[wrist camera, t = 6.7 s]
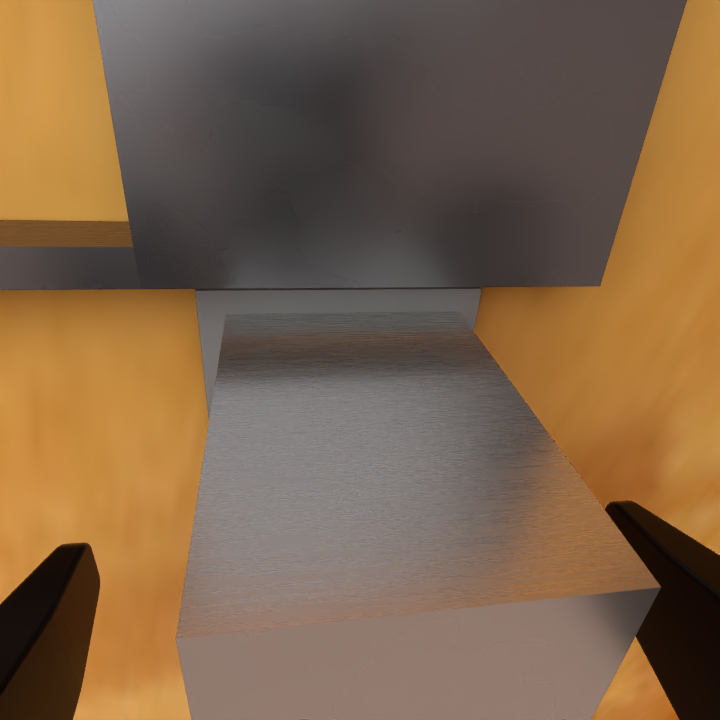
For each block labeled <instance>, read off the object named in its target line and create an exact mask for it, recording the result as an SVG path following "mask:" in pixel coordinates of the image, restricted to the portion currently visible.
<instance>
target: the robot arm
mask: <svg viewBox="0 0 720 720" xmlns="http://www.w3.org/2000/svg"><path fill="white" fill-rule="evenodd" d="M605 511H606V513H607V514H608V515H609V517H610V518H611V519H612V521H613V522H614V523H615V525H616V526H617V528H618V529H619V530H620V532H621V533H622V534H623V536H624V537H625V538H626V540H627V541H628V543H629V544H630V545H631V547H632V548H633V549H634V551H635V552H636V553H637V555H638V556H639V557H640V559H641V560H642V562H643V563H644V564H645V566H646V567H647V568H648V570H649V571H650V572H651V574H652V575H653V577H654V578H655V579H656V581H657V582H658V583H659V585H660V586H661V589H660V590H659V592H658V594H657V596H656V598H655V600H654V602H653V604H652V606H651V607H650V609H649V611H648V613H647V615H646V617H645V619H644V621H643V623H642V624H641V626H640V628H639V630H638V632H637V634H636V638H637V640H638V642H639V644H640V645H641V647H642V649H643V651H644V653H645V655H646V657H647V659H648V661H649V663H650V665H651V666H652V668H653V670H654V672H655V674H656V676H657V678H658V680H659V682H660V684H661V686H662V687H663V689H664V691H665V693H666V695H667V697H668V699H669V701H670V703H671V705H672V707H673V708H674V710H675V712H676V714H677V716H678V718H679V720H720V555H718V554H717V553H715V552H713V551H712V550H710V549H709V548H707V547H705V546H704V545H702V544H701V543H699V542H697V541H696V540H694V539H693V538H691V537H689V536H688V535H686V534H685V533H683V532H681V531H680V530H678V529H677V528H675V527H673V526H672V525H670V524H669V523H667V522H665V521H664V520H662V519H661V518H659V517H657V516H656V515H654V514H653V513H651V512H649V511H648V510H646V509H645V508H643V507H642V506H640V505H638V504H637V503H635V502H633V501H615V502H610V503H609V504H608V505H607V506H606V508H605ZM99 590H100V576H99V572H98V569H97V565H96V562H95V558H94V555H93V552H92V548H91V546H90V545H89V544H88V543H71V544H63V545H60V546H59V547H57V548H56V549H55V550H54V551H53V552H52V553H51V554H50V555H49V556H48V557H47V558H46V559H45V560H44V561H43V562H42V563H41V564H40V565H39V566H38V567H37V568H36V569H35V570H34V571H33V572H32V573H31V574H30V575H29V576H28V577H27V578H26V579H25V580H24V581H23V582H22V583H21V584H20V585H19V586H18V587H17V588H16V589H15V590H14V591H13V592H12V593H11V594H10V595H9V596H8V597H7V598H6V599H5V600H4V601H3V602H2V603H1V604H0V720H73V717H74V714H75V710H76V707H77V703H78V699H79V696H80V692H81V688H82V683H83V678H84V673H85V667H86V662H87V656H88V651H89V645H90V640H91V635H92V629H93V624H94V618H95V613H96V607H97V602H98V596H99Z"/></svg>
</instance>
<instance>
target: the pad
mask: <svg viewBox="0 0 720 720" xmlns="http://www.w3.org/2000/svg"><path fill="white" fill-rule="evenodd" d="M481 290H482V288H481V287H386V288H228V289H195V295H196V304H197V313H198V323H199V332H200V341H201V350H202V359H203V369H204V378H205V387H206V396H207V405H208V415H209V420H210V413H211V407H212V400H213V394H214V387H215V381H216V374H217V368H218V362H219V355H220V349H221V342H222V336H223V329H224V323H225V316H226V314H266V313H348V312H430V311H459V312H460V314H461V315H462V316H463V318H464V319H465V320H466V322H467V323H468V324H469V326H470V327H471V329H472V330H473V331H474V328H475V323H476V318H477V312H478V307H479V301H480V296H481Z"/></svg>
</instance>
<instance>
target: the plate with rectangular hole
mask: <svg viewBox="0 0 720 720" xmlns="http://www.w3.org/2000/svg"><path fill="white" fill-rule="evenodd" d="M686 1H687V0H93V5H94V11H95V17H96V23H97V30H98V36H99V42H100V48H101V54H102V60H103V66H104V72H105V78H106V84H107V90H108V96H109V103H110V109H111V115H112V121H113V127H114V133H115V139H116V145H117V151H118V157H119V163H120V169H121V176H122V182H123V188H124V194H125V200H126V206H127V212H128V218H129V222H103V221H25V220H0V290H70V289H228V288H386V287H543V286H600V285H601V281H602V278H603V275H604V271H605V268H606V265H607V261H608V258H609V255H610V252H611V248H612V245H613V242H614V238H615V235H616V232H617V229H618V225H619V222H620V219H621V215H622V212H623V209H624V205H625V202H626V199H627V196H628V192H629V189H630V186H631V182H632V179H633V176H634V173H635V169H636V166H637V163H638V159H639V156H640V153H641V150H642V146H643V143H644V140H645V136H646V133H647V130H648V126H649V123H650V120H651V117H652V113H653V110H654V107H655V103H656V100H657V97H658V94H659V90H660V87H661V84H662V80H663V77H664V74H665V70H666V67H667V64H668V61H669V57H670V54H671V51H672V47H673V44H674V41H675V38H676V34H677V31H678V28H679V24H680V21H681V18H682V14H683V11H684V8H685V5H686Z"/></svg>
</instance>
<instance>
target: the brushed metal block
mask: <svg viewBox="0 0 720 720" xmlns="http://www.w3.org/2000/svg"><path fill="white" fill-rule="evenodd" d="M660 589H661V586H660V585H659V583H658V582H657V581H656V579H655V578H654V577H653V575H652V574H651V572H650V571H649V570H648V568H647V567H646V566H645V564H644V563H643V562H642V560H641V559H640V557H639V556H638V555H637V553H636V552H635V551H634V549H633V548H632V547H631V545H630V544H629V543H628V541H627V540H626V538H625V537H624V536H623V534H622V533H621V532H620V530H619V529H618V528H617V526H616V525H615V523H614V522H613V521H612V519H611V518H610V517H609V515H608V514H607V513H606V511H605V510H604V508H603V507H602V506H601V504H600V503H599V502H598V500H597V499H596V498H595V496H594V495H593V493H592V492H591V491H590V489H589V488H588V487H587V485H586V484H585V483H584V481H583V480H582V478H581V477H580V476H579V474H578V473H577V472H576V470H575V469H574V468H573V466H572V465H571V463H570V462H569V461H568V459H567V458H566V457H565V455H564V454H563V453H562V451H561V450H560V448H559V447H558V446H557V444H556V443H555V442H554V440H553V439H552V438H551V436H550V435H549V433H548V432H547V431H546V429H545V428H544V427H543V425H542V424H541V423H540V421H539V420H538V418H537V417H536V416H535V414H534V413H533V412H532V410H531V409H530V408H529V406H528V405H527V403H526V402H525V401H524V399H523V398H522V397H521V395H520V394H519V393H518V391H517V390H516V389H515V387H514V386H513V384H512V383H511V382H510V380H509V379H508V378H507V376H506V375H505V374H504V372H503V371H502V369H501V368H500V367H499V365H498V364H497V363H496V361H495V360H494V359H493V357H492V356H491V354H490V353H489V352H488V350H487V349H486V348H485V346H484V345H483V344H482V342H481V341H480V339H479V338H478V337H477V335H476V334H475V333H474V331H473V330H472V329H471V327H470V326H469V324H468V323H467V322H466V320H465V319H464V318H463V316H462V315H461V314H460V312H459V311H430V312H348V313H266V314H226V316H225V323H224V329H223V336H222V342H221V349H220V355H219V362H218V368H217V374H216V381H215V387H214V394H213V400H212V407H211V413H210V420H209V426H208V433H207V439H206V446H205V452H204V459H203V465H202V472H201V478H200V485H199V491H198V498H197V504H196V511H195V517H194V524H193V530H192V536H191V543H190V549H189V556H188V562H187V569H186V575H185V582H184V588H183V595H182V601H181V608H180V614H179V621H178V627H177V634H176V643H177V648H178V653H179V658H180V663H181V668H182V673H183V679H184V684H185V689H186V694H187V699H188V704H189V709H190V714H191V719H192V720H591V719H592V717H593V715H594V713H595V711H596V709H597V708H598V706H599V704H600V702H601V700H602V698H603V696H604V694H605V692H606V691H607V689H608V687H609V685H610V683H611V681H612V679H613V677H614V675H615V674H616V672H617V670H618V668H619V666H620V664H621V662H622V660H623V658H624V657H625V655H626V653H627V651H628V649H629V647H630V645H631V643H632V641H633V640H634V638H635V636H636V634H637V632H638V630H639V628H640V626H641V624H642V623H643V621H644V619H645V617H646V615H647V613H648V611H649V609H650V607H651V606H652V604H653V602H654V600H655V598H656V596H657V594H658V592H659V590H660Z"/></svg>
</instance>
